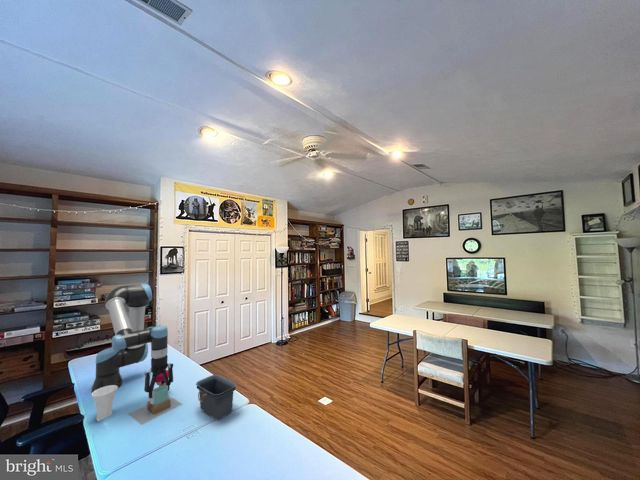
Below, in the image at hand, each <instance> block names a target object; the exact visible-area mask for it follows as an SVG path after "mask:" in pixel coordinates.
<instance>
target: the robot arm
mask: <svg viewBox="0 0 640 480" xmlns="http://www.w3.org/2000/svg"><path fill="white" fill-rule="evenodd" d="M152 300H153V292H152V288H151V286H150V285H149V284H148V283H147V284H146V283H144V284H143V283H139V284H131V285H120V286H117V287H115V288H113V289H112V290H111V291H109V293H108V294H107V295H106V297H105V300H104V306H105V309H106V310H108V313H109V316H110V321H111V324H112V327H113V332H114V335H113V336H112V338H111V347H108V348H105V349H103V350H101V351H99V352H97V354H96V355H95V356H96V357H95V358H96V359H95V379H94V380H93V384H92V386H91V394H92V393H93V392H94V391H95V390H97V389H99V388H102V387H105V386H110V385H116V386H118V388H120V387H122V385H123V384H124V383H123V380H124V379H123V378H122V375H121V373H120V368H123V367H127V366H130V365H134V364H138V363H140V362H143V361H145V360H146V359H147V357H148V353H149V345H148V344H149V343H150V346H151V347H150V358H151V359H150V369H149V370H148V371H145V372H144V392H145V393H148V399H150V400H149V401H150V403H151V404H152V405H153V404H154V391H153V389H155V385H156V378H157V377H158V375H159V374H162V375H163V378H164V381H165V383H166V384H165V385H164V387H166V388H168V392H169V391H170V386H171V383H173V382H174V374H173V373H174V371H173V368H174V363H170V362H169V363H168V361H169V360H168V342H169V341H168V338H169V336H168V334H169V332H168V327H167V326H166V325H158V326H149V327H146V328H145V314H146V307H147V306H148V305H149V302H151V301H152ZM125 305H126V306H127V307H128V308H129V309H128V310H129V312H128V311H127V309H126V307H125ZM127 312H128V313H127ZM166 370H168V375H169V379H168V376H167V374H166ZM151 373H152V374H151ZM118 388H117V389H118Z"/></svg>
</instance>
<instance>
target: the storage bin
mask: <svg viewBox="0 0 640 480" xmlns="http://www.w3.org/2000/svg"><path fill="white" fill-rule="evenodd" d="M195 385H196V389H197V390H198V394H197V397H198V401H199V406H200V410H202V411H203V412H204V413H206V414H208V415H209V416H210V417H212V418H213V419H214V420H217V421H218V420H221V419H223V418H224V417H226V416H228V415H230V414H231V413H232V411H233V402H234V392H235V391H236V389H237V388H236V387H237V385H238V384H237V383H236V382H234V381H233V380H230V379H228V378H226V377H225V376H222V375H220V374H211V375H209V376H207V377H205V378H202V379H200V380H198V381H196V383H195Z"/></svg>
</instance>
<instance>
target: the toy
mask: <svg viewBox="0 0 640 480" xmlns="http://www.w3.org/2000/svg"><path fill="white" fill-rule="evenodd" d="M166 374H167V376H168V379H169V375H168V369H166ZM165 384H166V383H165V381H164V378H163V375H162V374H159V375H158V377H157V378H156V382H155V385H156V386H158V387H160V386H162V385H163V386H164V385H165Z"/></svg>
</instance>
